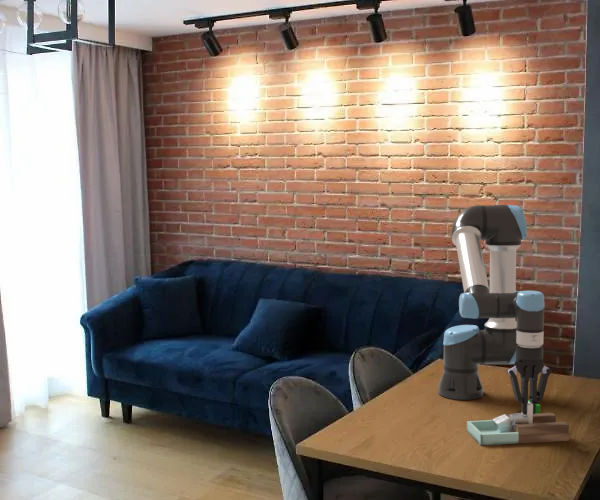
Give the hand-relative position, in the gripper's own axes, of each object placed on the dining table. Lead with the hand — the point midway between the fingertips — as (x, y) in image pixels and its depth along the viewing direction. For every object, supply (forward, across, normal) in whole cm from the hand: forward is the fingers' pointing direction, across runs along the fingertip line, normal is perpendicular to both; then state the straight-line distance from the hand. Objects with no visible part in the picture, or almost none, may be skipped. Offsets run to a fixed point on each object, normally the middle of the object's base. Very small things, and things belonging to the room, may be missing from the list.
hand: (528, 424), depth 226 cm
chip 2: (+1, -3, 0) cm, 3 cm away
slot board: (+3, +2, 0) cm, 4 cm away
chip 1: (+2, -7, 0) cm, 7 cm away
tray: (+3, -11, 0) cm, 11 cm away
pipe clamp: (+4, +8, +16) cm, 19 cm away
